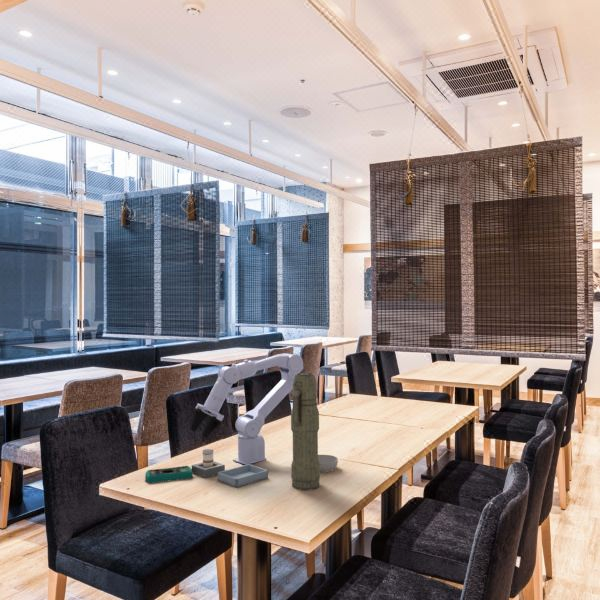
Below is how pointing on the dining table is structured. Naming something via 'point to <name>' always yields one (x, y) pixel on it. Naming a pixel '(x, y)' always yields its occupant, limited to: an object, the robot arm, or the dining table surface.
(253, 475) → the parts tray
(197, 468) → the fuse block
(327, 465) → the small pan
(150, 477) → the digital multimeter
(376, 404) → the dining table surface
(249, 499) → the dining table surface
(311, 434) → the thermos
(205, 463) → the cylinder
